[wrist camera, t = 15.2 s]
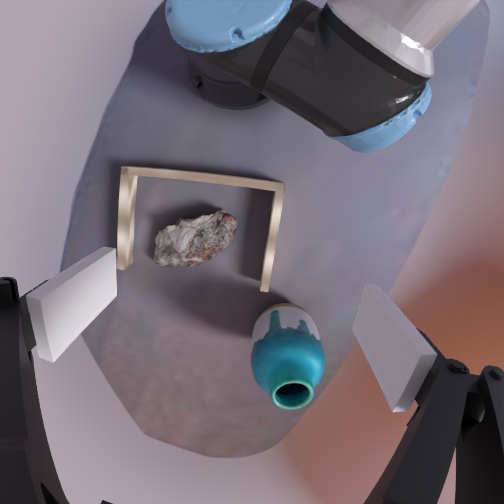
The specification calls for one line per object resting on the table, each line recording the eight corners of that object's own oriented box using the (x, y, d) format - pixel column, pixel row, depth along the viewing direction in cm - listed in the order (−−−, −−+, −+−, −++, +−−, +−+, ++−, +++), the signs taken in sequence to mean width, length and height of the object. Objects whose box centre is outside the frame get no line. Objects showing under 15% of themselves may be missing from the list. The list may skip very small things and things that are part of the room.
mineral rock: (160, 268, 50) (152, 277, 46) (148, 223, 48) (138, 228, 43) (245, 253, 49) (244, 262, 45) (236, 204, 47) (233, 208, 42)
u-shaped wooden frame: (131, 166, 45) (121, 166, 41) (283, 182, 45) (285, 184, 41) (126, 261, 50) (117, 268, 46) (267, 282, 50) (268, 292, 46)
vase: (253, 347, 54) (251, 425, 35) (250, 295, 51) (245, 364, 32) (311, 344, 53) (330, 419, 35) (313, 292, 50) (339, 358, 32)
